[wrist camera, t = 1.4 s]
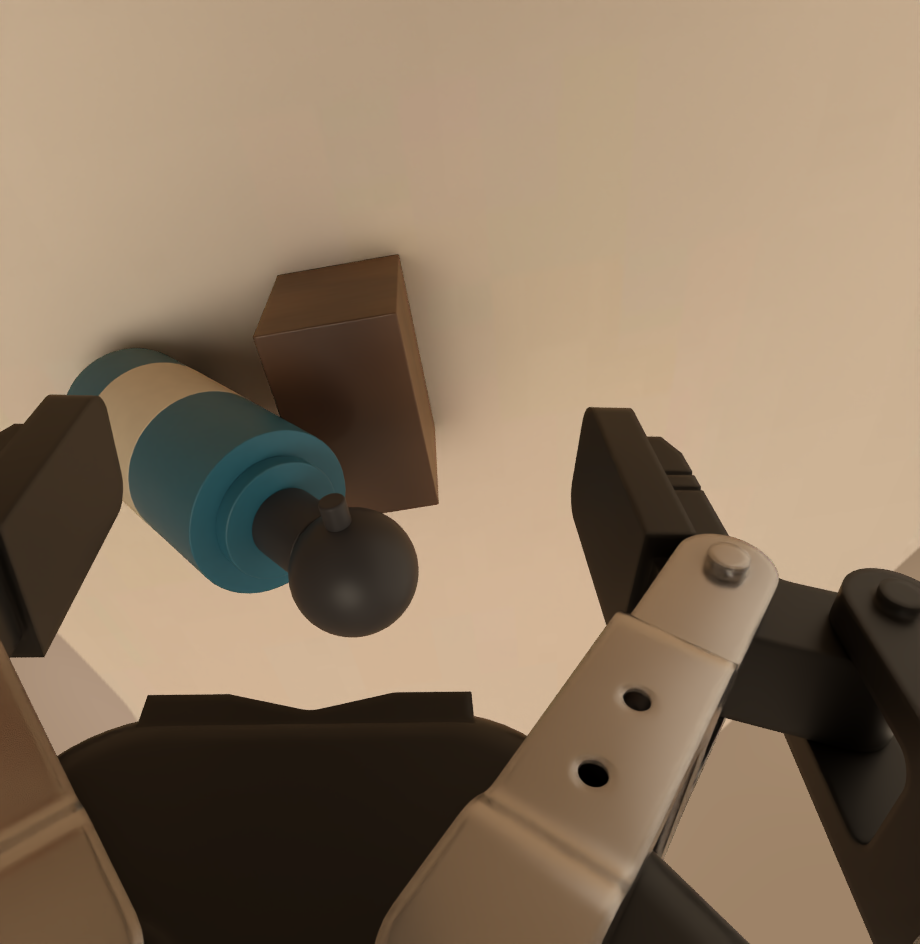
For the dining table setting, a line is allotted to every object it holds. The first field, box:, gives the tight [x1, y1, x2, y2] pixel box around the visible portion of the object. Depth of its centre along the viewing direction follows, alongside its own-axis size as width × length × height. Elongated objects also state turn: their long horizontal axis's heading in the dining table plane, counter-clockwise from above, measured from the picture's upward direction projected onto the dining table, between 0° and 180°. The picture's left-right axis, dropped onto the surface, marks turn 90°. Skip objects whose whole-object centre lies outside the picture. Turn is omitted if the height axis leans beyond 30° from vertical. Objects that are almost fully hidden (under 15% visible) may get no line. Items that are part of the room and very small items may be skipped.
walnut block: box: [253, 255, 439, 513], centre depth 37 cm, size 6×10×7 cm, turn 9°
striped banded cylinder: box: [67, 348, 418, 637], centre depth 32 cm, size 17×7×19 cm, turn 99°
